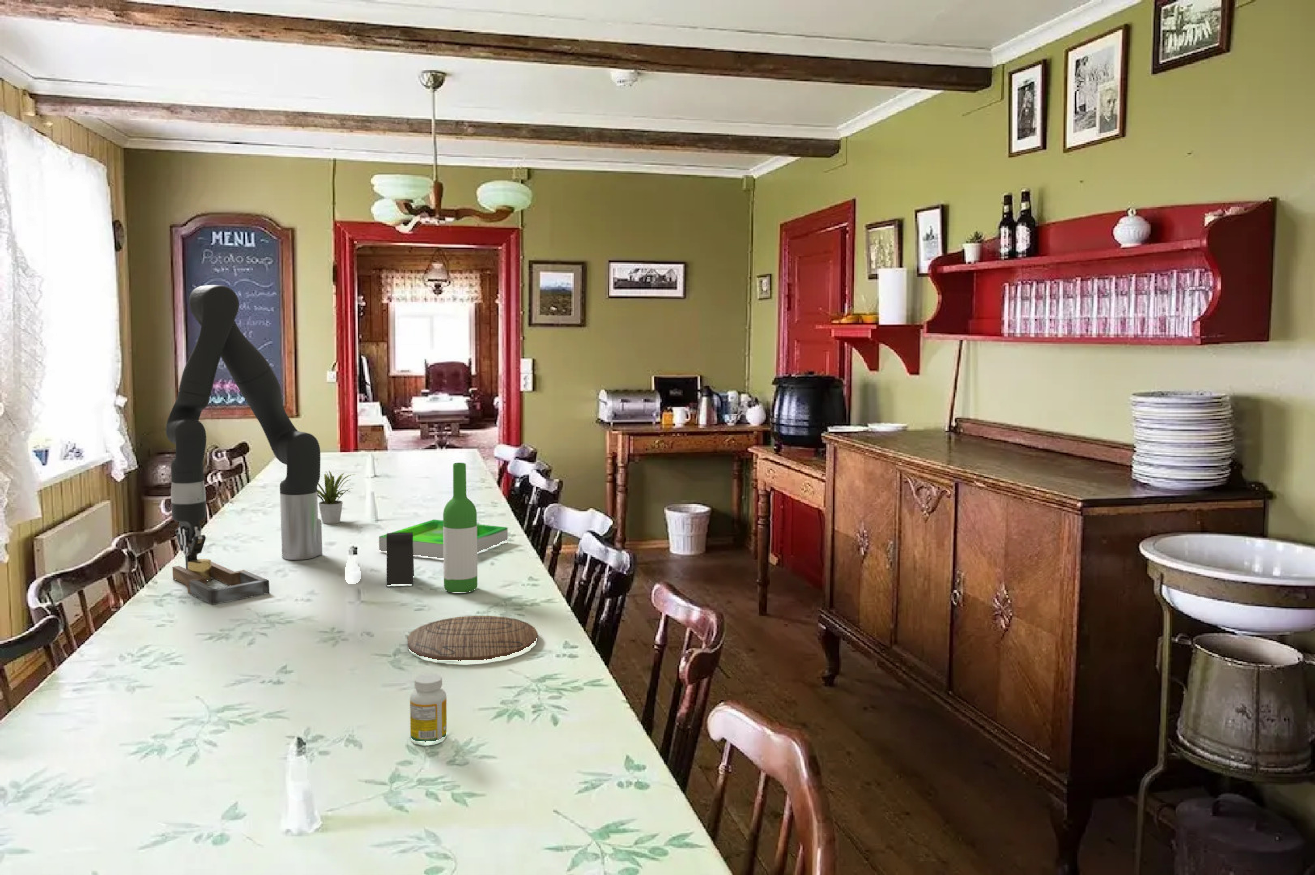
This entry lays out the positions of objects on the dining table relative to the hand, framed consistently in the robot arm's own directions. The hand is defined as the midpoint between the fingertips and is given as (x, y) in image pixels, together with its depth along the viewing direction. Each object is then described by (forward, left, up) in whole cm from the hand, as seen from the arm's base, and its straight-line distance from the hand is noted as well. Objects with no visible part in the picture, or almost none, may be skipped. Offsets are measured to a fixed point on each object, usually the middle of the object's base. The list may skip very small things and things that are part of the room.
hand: (191, 569), depth 233 cm
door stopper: (-33, +40, -2) cm, 52 cm away
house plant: (-56, -33, -2) cm, 65 cm away
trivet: (-19, +88, -2) cm, 90 cm away
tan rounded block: (0, +5, -2) cm, 5 cm away
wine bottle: (-39, +56, -2) cm, 68 cm away
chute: (0, +13, -2) cm, 13 cm away
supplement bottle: (+12, +119, -2) cm, 119 cm away
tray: (-61, +18, -2) cm, 64 cm away
